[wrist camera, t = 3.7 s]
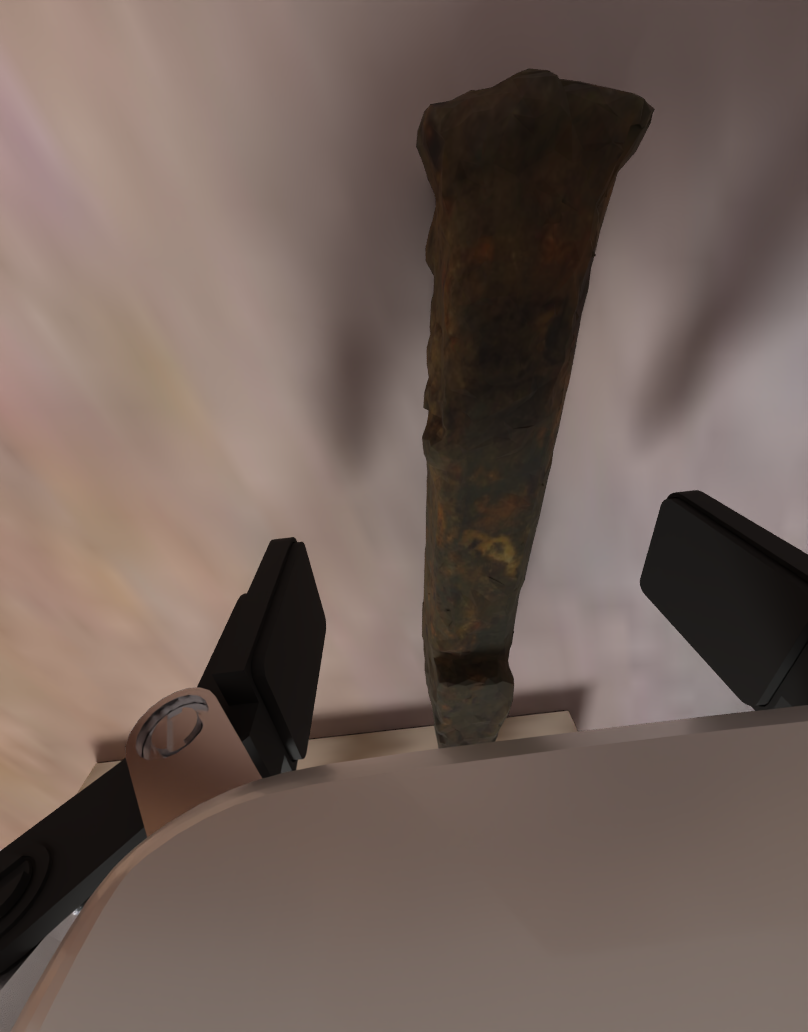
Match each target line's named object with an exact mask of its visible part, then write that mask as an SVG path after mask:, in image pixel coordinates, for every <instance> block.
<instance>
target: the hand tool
mask: <svg viewBox="0 0 808 1032" xmlns="http://www.w3.org/2000/svg"><path fill="white" fill-rule="evenodd" d="M653 111H654V108H653V107H651V106H650V105H649V104H648V103H647V102H646V101H645V99H644V98H642V97H641V96H638V95H635V94H633V93H629V92H624V91H620V90H615V89H611V88H606V87H602V86H597V85H593V84H588V83H584V82H579V81H572V80H564V79H559V78H558V76H557V75H555V74H553V73H551V72H550V71H548V70H538V69H527V70H524V71H521V72H519V73H517V74H515V75H513V76H511V77H510V78H508V79H506V80H504V81H503V82H501V83H499V84H497V85H495V86H494V87H491V88H487V89H482V90H477V91H475V90H471V91H469V92H467V93H465V94H463V95H461V96H459V97H457V98H455V99H453V100H451V101H448V102H442V103H436V104H430V106H429V107H428V108H427V109H426V110H425V112H424V114H423V117H422V120H421V123H420V126H419V129H418V133H417V144H416V147H417V149H418V152H419V154H420V157H421V160H422V162H423V165H424V168H425V171H426V174H427V178H428V180H429V182H430V184H431V187H432V189H433V192H434V194H435V199H436V208H435V212H434V216H433V221H432V224H431V227H430V230H429V235H428V239H427V244H426V262H427V264H428V266H429V268H430V270H431V271H432V273H433V275H434V293H433V297H432V301H431V316H430V338H429V341H428V345H427V368H428V374H429V378H428V382H427V385H426V389H425V392H424V407H423V408H425V409H427V410H429V412H428V420H427V425H426V428H425V431H424V433H423V436H422V441H423V450H424V455H425V457H426V460H427V502H426V548H425V570H424V602H423V609H422V637H423V640H424V656H425V674H426V684H427V687H428V693H429V697H430V701H431V704H432V710H433V717H434V728H435V734H436V738H437V744H438V749H440V748H448V747H456V746H465V745H473V744H481V743H489V742H495V741H496V739H497V737H498V732H499V730H500V728H501V726H502V724H503V723H504V721H505V719H506V717H507V715H508V713H509V710H510V707H511V704H512V701H513V692H514V678H513V675H512V673H511V670H510V668H509V664H508V658H509V650H510V647H511V645H512V639H513V633H514V631H513V630H514V624H515V617H516V611H517V606H518V598H519V593H520V590H521V587H522V585H523V583H524V580H525V575H526V570H527V566H528V561H529V556H530V552H531V548H532V544H533V540H534V536H535V532H536V527H537V524H538V520H539V516H540V512H541V507H542V502H543V498H544V493H545V489H546V484H547V480H548V476H549V472H550V468H551V464H552V456H553V449H554V445H555V441H556V437H557V433H558V429H559V424H560V420H561V415H562V410H563V405H564V400H565V396H566V392H567V388H568V385H569V380H570V375H571V370H572V365H573V359H574V354H575V348H576V342H577V337H578V331H579V326H580V320H581V315H582V311H583V307H584V303H585V299H586V296H587V292H588V287H589V279H590V271H591V266H592V262H593V258H594V256H596V255H595V250H596V246H597V242H598V237H599V233H600V229H601V226H602V223H603V219H604V216H605V213H606V209H607V206H608V203H609V200H610V196H611V193H612V190H613V186H614V183H615V180H616V176H617V173H618V171H619V170H620V169H621V168H622V167H623V166H624V165H625V163H626V162H627V161H628V160H629V159H630V158H631V156H632V155H633V154H634V153H635V152H636V150H637V148H638V146H639V144H640V142H641V140H642V138H643V137H644V135H645V133H646V131H647V129H648V127H649V125H650V123H651V118H652V114H653Z"/></svg>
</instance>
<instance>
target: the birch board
mask: <svg viewBox="0 0 808 1032" xmlns="http://www.w3.org/2000/svg"><path fill="white" fill-rule="evenodd" d="M570 732H578V731H577V729H576V726H575V724H574V722H573V720H572V718H571V716H570V713H569V711H561V712H552V713H543V714H534V715H526V716H517V717H508V718H506V719H505V721H504V723H503V724H502V726H501V728H500V730H499V732H498V737H497V739H496V741H495V742H497V741H505V740H513V739H521V738H529V737H537V736H545V735H554V734H562V733H570ZM432 749H438V744H437V738H436V734H435V728H434V726H427V727H418V728H409V729H400V730H392V731H383V732H374V733H365V734H356V735H347V736H338V737H329V738H320V739H311V740H309V741H308V748H307V753H306V756H305V758H304V759H300V760H298V762H297V768H296V770H300V769H305V768H310V767H315V766H321V765H326V764H331V763H338V762H346V761H353V760H360V759H367V758H374V757H381V756H388V755H395V754H402V753H409V752H416V751H424V750H432ZM119 762H121V761H115V762H106V763H97V764H95V766H94V768H93V769H92V771H91V772H90V774H89V776H88V777H87V779H86V780H85V782H84V784H83V785H82V787H81V788H80V790H79V792H80V791H82V790H83V789H84V788H86V787H87V786H88V785H90V784H91V783H92V782H94V781H95V780H97V779H98V778H99V777H101V776H102V775H103V774H105V773H106V772H107V771H109V770H110V769H111V768H113V767H114V766H115V765H117V764H118V763H119ZM79 792H78V793H79ZM78 793H77V794H78Z"/></svg>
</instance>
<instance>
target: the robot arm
mask: <svg viewBox="0 0 808 1032" xmlns="http://www.w3.org/2000/svg"><path fill="white" fill-rule="evenodd" d="M640 586H641V589H642V591H643V593H644V594H645V595H646V596H647V597H648V599H649V600H650V601H651V602H652V603H653V604H654V605H655V606H656V607H657V608H658V610H659V611H660V612H661V613H662V614H663V615H664V616H665V617H666V618H667V619H668V621H669V622H670V623H671V624H672V625H673V626H674V627H675V628H676V629H677V631H678V632H679V633H680V634H681V635H682V636H683V637H684V638H685V639H686V640H687V642H688V643H689V644H690V645H691V646H692V647H693V648H694V649H695V650H696V652H697V653H698V654H699V655H700V656H701V657H702V658H703V659H704V660H705V661H706V663H707V664H708V665H709V666H710V667H711V668H712V669H713V670H714V671H715V672H716V674H717V675H718V676H719V677H720V678H721V679H722V680H723V681H724V682H725V684H726V685H727V686H728V687H729V688H730V689H731V690H732V691H733V692H734V693H735V695H736V696H737V697H738V698H739V699H740V700H741V701H742V702H743V703H745V704H747V705H749V706H752V708H753V709H754V710H755V711H750V712H741V713H732V714H724V715H715V716H706V717H697V718H689V719H680V720H672V721H663V722H655V723H646V724H638V725H629V726H621V727H612V728H604V729H596V730H587V731H579V732H570V733H562V734H554V735H545V736H537V737H529V738H521V739H513V740H505V741H497V742H489V743H481V744H473V745H465V746H456V747H448V748H440V749H432V750H424V751H416V752H409V753H402V754H395V755H388V756H381V757H374V758H367V759H360V760H353V761H346V762H338V763H331V764H326V765H321V766H315V767H310V768H305V769H300V770H296V768H297V762H298V760H300V759H304V758H305V756H306V753H307V748H308V741H309V735H310V729H311V722H312V716H313V710H314V703H315V697H316V690H317V684H318V678H319V671H320V665H321V659H322V652H323V646H324V639H325V633H326V619H325V615H324V611H323V608H322V604H321V600H320V597H319V593H318V590H317V586H316V583H315V579H314V576H313V572H312V569H311V565H310V562H309V558H308V554H307V551H306V547H305V545H304V543H303V542H297V540H296V539H295V538H294V537H291V538H283V539H274V540H271V541H270V543H269V545H268V548H267V550H266V552H265V554H264V557H263V559H262V561H261V563H260V566H259V568H258V570H257V572H256V575H255V577H254V579H253V581H252V584H251V586H250V588H249V590H248V593H246V594H243V595H241V596H240V598H239V599H238V601H237V603H236V605H235V607H234V609H233V611H232V614H231V616H230V618H229V620H228V622H227V624H226V626H225V629H224V631H223V633H222V635H221V637H220V639H219V641H218V644H217V646H216V648H215V650H214V652H213V654H212V656H211V659H210V661H209V663H208V665H207V667H206V669H205V671H204V674H203V676H202V678H201V680H200V682H199V684H198V686H197V688H187V689H183V690H180V691H177V692H174V693H172V694H170V695H169V696H167V697H165V698H163V699H161V700H160V701H159V702H157V703H156V704H155V705H153V706H152V707H151V708H149V709H148V711H147V712H146V713H145V714H144V715H143V716H142V717H141V718H140V719H139V720H138V721H137V723H136V724H135V726H134V728H133V729H132V731H131V732H130V734H129V737H128V740H127V743H126V746H125V753H126V758H125V759H123V760H122V761H121V762H119V763H118V764H117V765H115V766H114V767H113V768H111V769H110V770H109V771H107V772H106V773H105V774H103V775H102V776H101V777H99V778H98V779H97V780H95V781H94V782H92V783H91V784H90V785H88V786H87V787H86V788H84V789H83V790H82V791H80V792H79V793H78V794H76V795H75V796H74V797H72V798H71V799H70V800H68V801H67V802H66V803H64V804H63V805H62V806H60V807H59V808H58V809H56V810H55V811H54V812H52V813H51V814H49V815H48V816H47V817H45V818H44V819H43V820H41V821H40V822H39V823H37V824H36V825H35V826H33V827H32V828H31V829H29V830H28V831H27V832H25V833H24V834H23V835H21V836H20V837H19V838H17V839H16V840H15V841H13V842H12V843H11V844H9V845H8V846H7V847H5V848H4V849H2V850H1V851H0V1032H808V554H806V553H804V552H803V551H801V550H799V549H798V548H796V547H794V546H793V545H791V544H789V543H787V542H786V541H784V540H782V539H781V538H779V537H777V536H776V535H774V534H772V533H771V532H769V531H767V530H766V529H764V528H762V527H761V526H759V525H757V524H755V523H754V522H752V521H750V520H749V519H747V518H745V517H744V516H742V515H740V514H739V513H737V512H735V511H734V510H732V509H730V508H728V507H727V506H725V505H723V504H722V503H720V502H718V501H717V500H715V499H713V498H712V497H710V496H708V495H707V494H705V493H703V492H701V491H698V490H693V491H685V492H676V493H672V494H670V495H669V496H668V497H667V499H666V500H664V501H663V502H662V504H661V507H660V510H659V514H658V518H657V521H656V525H655V528H654V532H653V535H652V539H651V543H650V546H649V550H648V553H647V557H646V560H645V564H644V567H643V571H642V575H641V578H640Z"/></svg>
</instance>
